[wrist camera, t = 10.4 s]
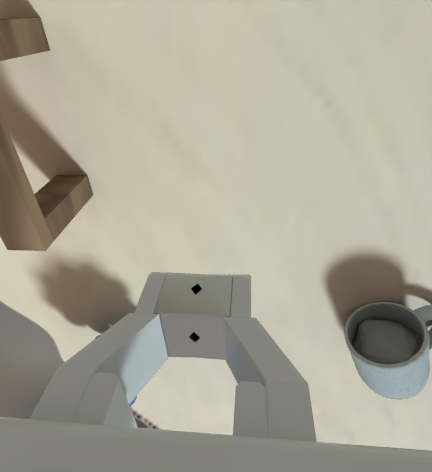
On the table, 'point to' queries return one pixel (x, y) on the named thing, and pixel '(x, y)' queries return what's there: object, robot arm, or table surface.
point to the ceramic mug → (390, 347)
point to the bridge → (14, 177)
